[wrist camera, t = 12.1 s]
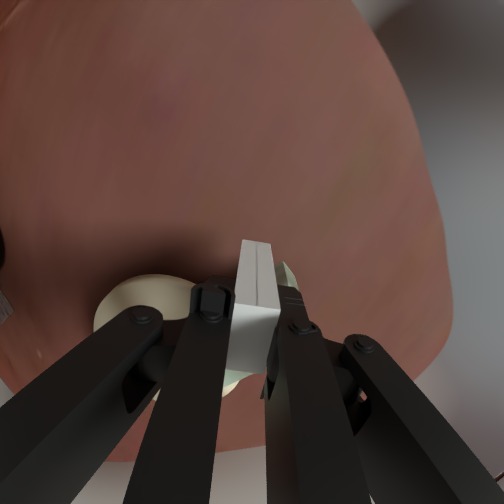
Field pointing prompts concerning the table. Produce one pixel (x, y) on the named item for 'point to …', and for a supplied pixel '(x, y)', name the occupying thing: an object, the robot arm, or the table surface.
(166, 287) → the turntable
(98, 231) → the table surface
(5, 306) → the vee block
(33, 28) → the table surface
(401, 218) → the table surface
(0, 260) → the supplement bottle
